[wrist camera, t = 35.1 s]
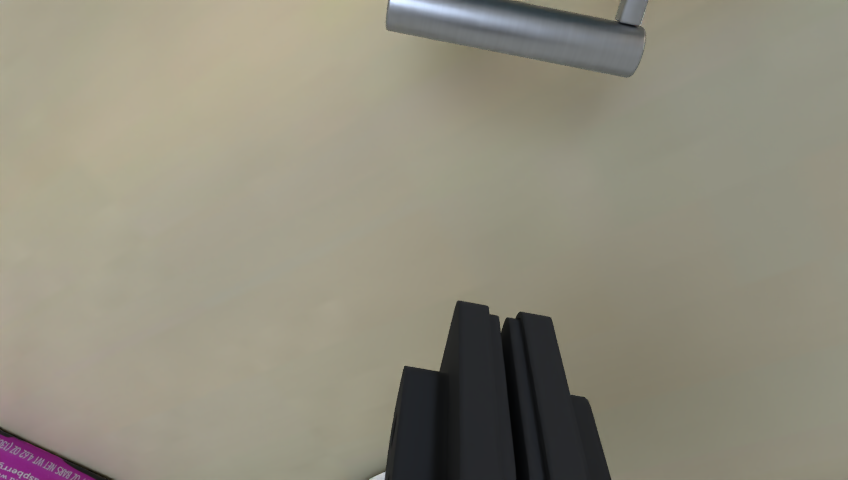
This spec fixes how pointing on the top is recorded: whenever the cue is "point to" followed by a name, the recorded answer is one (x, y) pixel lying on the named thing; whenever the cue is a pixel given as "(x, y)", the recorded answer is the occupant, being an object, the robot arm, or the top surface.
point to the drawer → (529, 31)
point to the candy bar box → (36, 463)
